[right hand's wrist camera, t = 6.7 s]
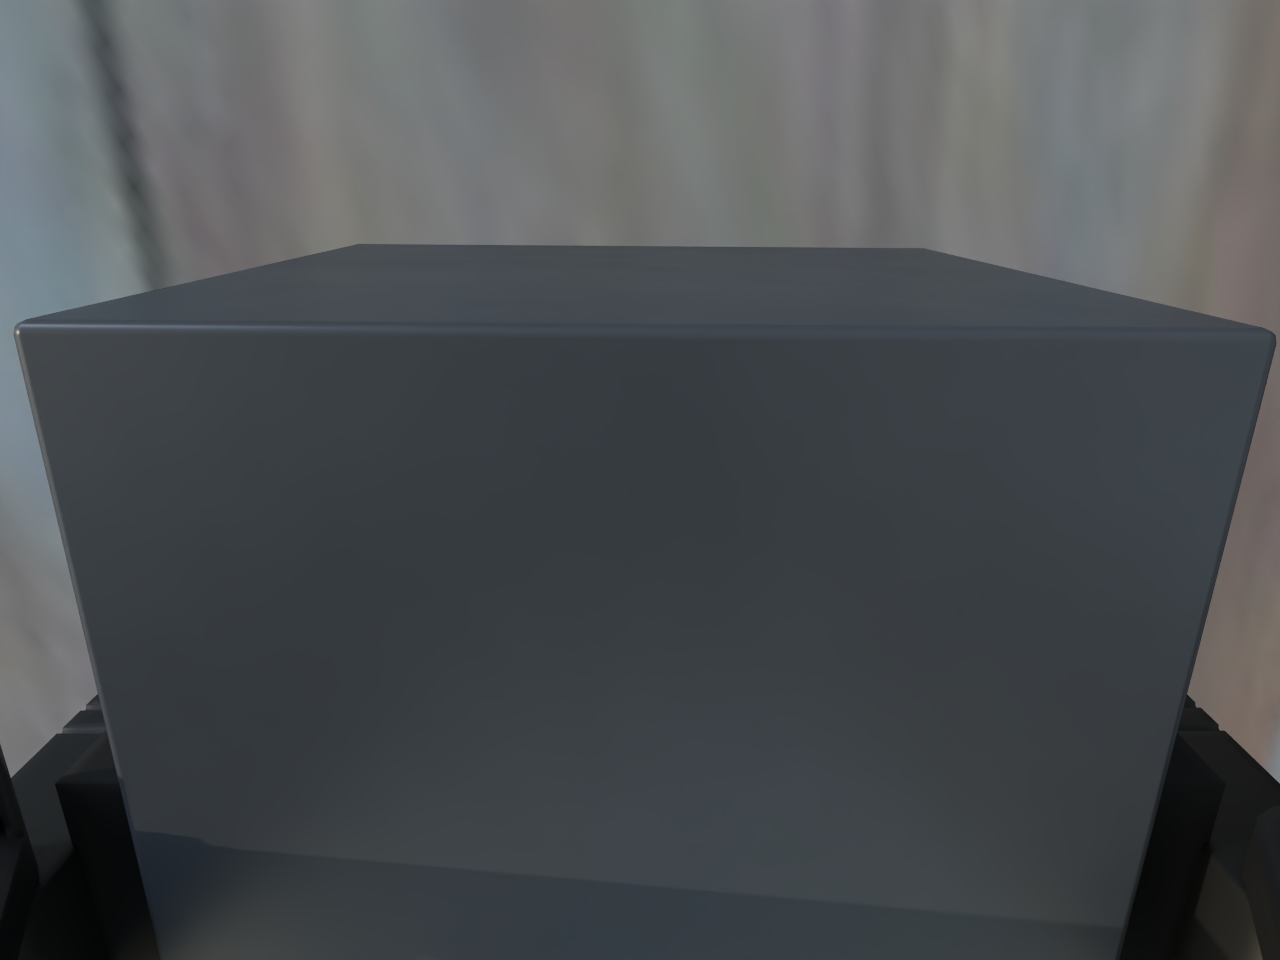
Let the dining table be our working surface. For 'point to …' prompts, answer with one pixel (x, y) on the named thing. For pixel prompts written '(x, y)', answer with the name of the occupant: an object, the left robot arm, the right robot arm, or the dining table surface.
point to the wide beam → (641, 596)
